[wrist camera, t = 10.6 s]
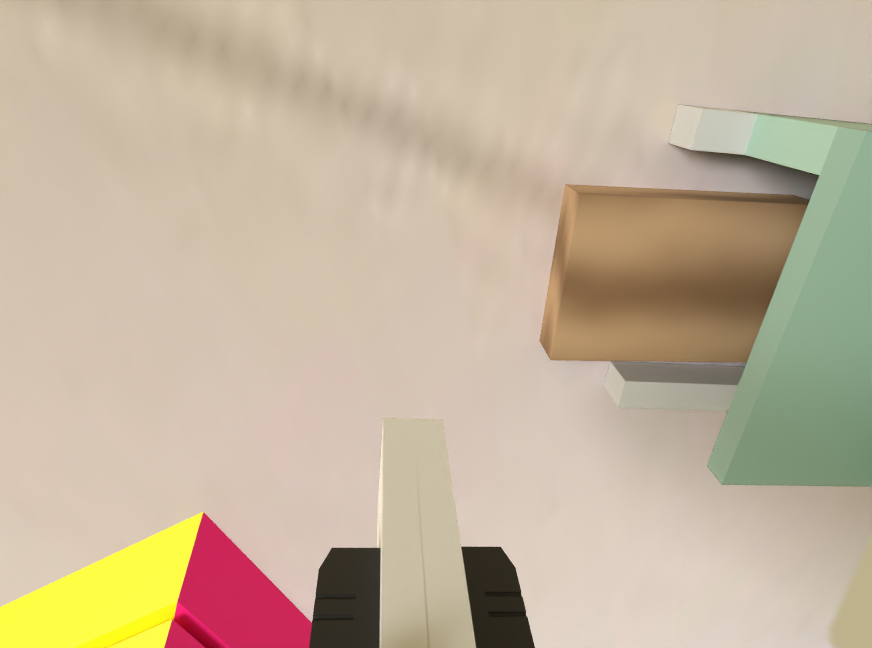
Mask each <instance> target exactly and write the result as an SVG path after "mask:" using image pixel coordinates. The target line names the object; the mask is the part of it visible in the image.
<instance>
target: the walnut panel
mask: <svg viewBox="0 0 872 648" xmlns="http://www.w3.org/2000/svg"><path fill="white" fill-rule="evenodd" d="M808 204H809V200H806V199H803V198H800V197H797V196H794V195H779V194H758V193H737V192H715V191H694V190H673V189H651V188H630V187H608V186H587V185H566V184H565V188H564V195H563V201H562V207H561V213H560V219H559V225H558V231H557V237H556V244H555V250H554V256H553V262H552V268H551V274H550V280H549V286H548V293H547V299H546V305H545V311H544V317H543V323H542V329H541V335H540V342H541V344H542V346H543V348H544V349H545V351H546V353H547V355H548V357H549V358H550V360H581V361H671V362H747V361H748V358H749V356H750V353H751V351H752V348H753V345H754V343H755V340H756V338H757V335H758V333H759V330H760V327H761V325H762V322H763V320H764V317H765V315H766V312H767V309H768V307H769V304H770V302H771V299H772V297H773V294H774V291H775V289H776V286H777V284H778V281H779V278H780V276H781V273H782V271H783V268H784V266H785V263H786V260H787V258H788V255H789V253H790V250H791V248H792V245H793V242H794V240H795V237H796V235H797V232H798V230H799V227H800V224H801V222H802V219H803V217H804V214H805V211H806V209H807V206H808Z"/></svg>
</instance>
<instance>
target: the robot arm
mask: <svg viewBox="0 0 872 648" xmlns="http://www.w3.org/2000/svg"><path fill="white" fill-rule="evenodd" d="M309 648H535V646H534V642H533V638H532V634H531V630H530V626H529V622H528V618H527V617H526V610H525V606H524V601H523V597H522V596H521V589H520V585H519V581H518V577H517V573H516V569H515V567H514V565H513V564H512V562H511V561H510V560H509V558H508V557H507V555H506V554H505V552H504V551H503V550H502V548H501V547H461V542H460V535H459V529H458V522H457V515H456V508H455V501H454V495H453V488H452V481H451V474H450V468H449V461H448V454H447V447H446V440H445V434H444V427H443V420H429V419H395V418H383V431H382V447H381V462H380V478H379V493H378V531H377V548H332V549H331V550H330V552H329V554H328V555H327V557H326V559H325V560H324V562H323V564H322V565H321V567H320V569H319V574H318V581H317V589H316V599H315V605H314V612H313V621H312V628H311V636H310V644H309Z"/></svg>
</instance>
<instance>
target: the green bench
mask: <svg viewBox="0 0 872 648" xmlns="http://www.w3.org/2000/svg"><path fill="white" fill-rule="evenodd" d="M669 143H670V144H673V145H676V146H680V147H683V148H686V149H689V150H697V151H708V152H719V153H730V154H741V155H747V156H751V157H754V158H758V159H762V160H765V161H769V162H773V163H776V164H780V165H784V166H787V167H791V168H795V169H798V170H802V171H806V172H809V173H813V174H816V175H819V178H818V181H817V183H816V186H815V188H814V191H813V193H812V196H811V199H810V201H809V204H808V206H807V209H806V211H805V214H804V217H803V219H802V222H801V224H800V227H799V230H798V232H797V235H796V237H795V240H794V242H793V245H792V248H791V250H790V253H789V255H788V258H787V260H786V263H785V266H784V268H783V271H782V273H781V276H780V278H779V281H778V284H777V286H776V289H775V291H774V294H773V297H772V299H771V302H770V304H769V307H768V309H767V312H766V315H765V317H764V320H763V322H762V325H761V327H760V330H759V333H758V335H757V338H756V340H755V343H754V345H753V348H752V351H751V353H750V356H749V358H748V361H747V364H746V366H745V367H738V366H713V365H688V364H663V363H638V362H613V361H610V365H609V369H608V373H607V377H606V380H605V384H604V388H605V389H606V391H607V392H608V394H609V395H610V397H611V398H612V400H613V401H614V403H615V404H616V406H617V407H618V408H639V409H672V410H706V411H728V412H727V415H726V418H725V420H724V423H723V425H722V428H721V431H720V433H719V436H718V438H717V441H716V443H715V446H714V449H713V451H712V454H711V456H710V459H709V461H708V464H707V467H708V468H709V469H710V471H711V472H712V473H713V474H714V476H715V477H716V478H717V479H718V481H719V482H720V483H721V485H789V486H871V487H872V124H866V123H856V122H846V121H836V120H826V119H816V118H806V117H796V116H786V115H776V114H767V113H757V112H747V111H737V110H727V109H717V108H707V107H697V106H687V105H678V109H677V113H676V116H675V120H674V124H673V128H672V131H671V135H670V139H669Z"/></svg>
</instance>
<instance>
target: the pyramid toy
mask: <svg viewBox="0 0 872 648" xmlns="http://www.w3.org/2000/svg"><path fill="white" fill-rule="evenodd" d="M311 628H312V623H311V622H310V621H309V620H308V619H307V618H306V617H305V616H304V615H303V614H302V613H301V612H300V610H299V609H298V608H297V607H296V606H295V605H294V604H293V603H292V602H291V601H290V600H289V599H288V598H287V597H286V596H285V595H284V594H283V593H282V592H281V591H280V590H279V589H278V588H277V587H276V586H275V585H274V584H273V583H272V582H271V581H270V580H269V579H268V578H267V577H266V576H265V575H264V574H263V573H262V572H261V571H260V570H259V569H258V567H257V566H256V565H255V564H254V563H253V562H252V561H251V560H250V559H249V558H248V557H247V556H246V555H245V554H244V553H243V552H242V551H241V550H240V549H239V548H238V547H237V546H236V545H235V544H234V543H233V542H232V541H231V540H230V539H229V538H228V537H227V536H226V535H225V534H224V533H223V532H222V531H221V530H220V529H219V528H218V527H217V526H216V524H215V523H214V522H213V521H212V520H211V519H210V518H209V517H208V516H207V515H206V514H205V513H204V512H202V513H200V514H198V515H196V516H193V517H191V518H189V519H187V520H185V521H183V522H181V523H179V524H176V525H174V526H172V527H170V528H168V529H166V530H164V531H162V532H159V533H157V534H155V535H153V536H151V537H149V538H147V539H144V540H142V541H140V542H138V543H136V544H134V545H132V546H130V547H127V548H125V549H123V550H121V551H119V552H117V553H115V554H113V555H110V556H108V557H106V558H104V559H102V560H100V561H98V562H96V563H93V564H91V565H89V566H87V567H85V568H83V569H81V570H79V571H76V572H74V573H72V574H70V575H68V576H66V577H64V578H62V579H59V580H57V581H55V582H53V583H51V584H49V585H47V586H45V587H42V588H40V589H38V590H36V591H34V592H32V593H30V594H28V595H25V596H23V597H21V598H19V599H17V600H15V601H13V602H11V603H8V604H6V605H4V606H2V607H0V648H309V644H310V636H311Z"/></svg>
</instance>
